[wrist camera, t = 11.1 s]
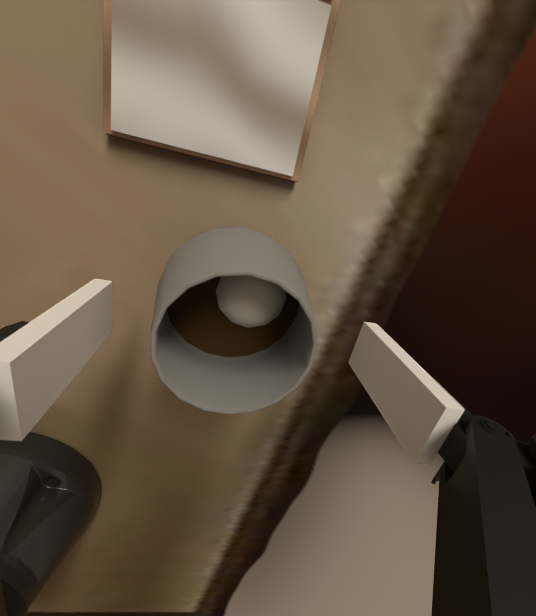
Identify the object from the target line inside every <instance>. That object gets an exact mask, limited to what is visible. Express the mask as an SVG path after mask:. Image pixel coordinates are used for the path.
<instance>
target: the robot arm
mask: <svg viewBox="0 0 536 616" xmlns="http://www.w3.org/2000/svg"><path fill="white" fill-rule="evenodd" d="M111 333H112V281H107V280H101V279H93V280H92V281H90V282H89V283H88V284H86V285H85V286H83V287H82V288H80V289H79V290H77V291H76V292H74V293H73V294H71V295H70V296H68V297H67V298H65V299H64V300H62V301H61V302H59V303H58V304H56V305H55V306H53V307H52V308H50V309H49V310H47V311H46V312H44V313H43V314H41V315H40V316H38V317H37V318H35V319H34V320H32V321H31V322H24V321H21V322H18V323H15V324H12V325H9V326H6V327H4V328H2V329H0V616H25V615H26V613H27V611H28V609H29V607H30V605H31V603H32V601H33V600H34V598H35V597H36V596H37V594H38V593H39V592H40V590H41V589H42V588H43V586H44V585H45V584H46V582H47V581H48V580H49V578H50V577H51V576H52V574H53V573H54V572H55V570H56V569H57V568H58V566H59V565H60V564H61V562H62V561H63V560H64V558H65V557H66V556H67V554H68V553H69V552H70V550H71V549H72V548H73V546H74V545H75V544H76V542H77V541H78V540H79V538H80V537H81V536H82V534H83V533H84V532H85V530H86V528H87V527H88V525H89V523H90V521H91V519H92V516H93V514H94V512H95V509H96V507H97V504H98V502H99V499H100V495H101V484H100V480H99V477H98V475H97V473H96V471H95V470H94V468H93V467H92V466H91V464H90V463H89V462H88V461H87V460H86V459H85V458H84V457H82V456H81V455H80V454H79V453H77V452H76V451H74V450H73V449H71V448H69V447H68V446H66V445H64V444H62V443H60V442H57V441H55V440H53V439H50V438H47V437H44V436H41V435H37V434H33V433H29V432H30V431H31V429H32V428H33V427H34V426H35V425H36V423H37V422H38V421H39V420H40V419H41V417H42V416H43V415H44V414H45V413H46V411H47V410H48V409H49V408H50V406H51V405H52V404H53V403H54V402H55V400H56V399H57V398H58V397H59V396H60V394H61V393H62V392H63V391H64V390H65V388H66V387H67V386H68V385H69V384H70V382H71V381H72V380H73V379H74V378H75V376H76V375H77V374H78V373H79V371H80V370H81V369H82V368H83V367H84V365H85V364H86V363H87V362H88V361H89V359H90V358H91V357H92V356H93V355H94V353H95V352H96V351H97V350H98V349H99V347H100V346H101V345H102V344H103V343H104V341H105V340H106V339H107V338H108V337H109V335H110V334H111ZM348 363H349V364H350V366H351V368H352V369H353V371H354V372H355V374H356V375H357V377H358V378H359V380H360V381H361V383H362V385H363V386H364V388H365V389H366V391H367V392H368V394H369V395H370V397H371V398H372V400H373V402H374V403H375V405H376V406H377V408H378V409H379V411H380V412H381V414H382V415H383V417H384V418H385V420H386V422H387V423H388V425H389V426H390V428H391V429H392V431H393V433H394V434H395V436H396V437H397V439H398V440H399V442H400V443H401V445H402V446H403V448H404V449H405V451H406V453H407V454H408V456H409V457H410V459H411V460H412V462H413V463H414V464H429V465H431V464H432V462H433V460H434V459H435V457H436V455H437V454H438V453H439V454H440V455H441V457H442V458H443V459H444V463H443V464H442V466H441V467H440V469H439V470H438V472H437V474H436V475H435V477H434V478H433V480H432V482H431V483H433V484H435V483H436V481H439V497H438V514H437V531H436V549H435V566H434V584H433V601H432V616H536V435H534V436H533V438H532V439H531V440H530V441H529V443H528V444H526V443H523V442H520V441H517V440H515V439H514V438H513V436H512V435H511V434H510V433H509V432H508V431H507V430H506V429H505V428H503V427H502V426H500V425H499V424H497V423H495V422H493V421H492V420H490V419H487V418H485V417H481V416H473V415H472V414H471V413H470V412H469V411H468V410H467V409H465V407H463V406H462V405H461V404H460V403H459V402H458V401H457V400H456V399H455V398H454V397H453V396H452V395H450V393H449V392H448V391H447V390H446V389H444V387H443V386H442V385H441V384H440V383H439V382H438V381H437V380H435V379H434V378H432V377H431V376H430V375H429V374H427V372H426V371H425V370H424V369H423V368H422V367H421V366H420V365H419V364H417V363H416V362H415V361H414V360H413V359H412V358H411V357H410V356H409V355H408V354H407V353H406V352H405V351H404V350H403V349H402V348H401V347H400V346H399V345H398V344H397V343H396V342H395V341H394V340H393V339H391V337H389V335H388V334H386V332H384V331H383V330H382V329H381V328H380V327H379V326H378V325H377V324H375V323H369V322H364V324H363V326H362V329H361V331H360V334H359V336H358V339H357V342H356V344H355V347H354V349H353V352H352V354H351V357H350V360H349V362H348Z"/></svg>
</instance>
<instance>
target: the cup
mask: <svg viewBox="0 0 536 616" xmlns="http://www.w3.org/2000/svg"><path fill="white" fill-rule="evenodd" d="M317 345H318V344H317V336H316V328H315V320H314V316H313V312H312V308H311V305H310V301H309V297H308V293H307V289H306V285H305V281H304V277H303V275H302V273H301V271H300V270H299V268H298V266H297V264H296V262H295V260H294V259H293V257H292V255H291V253H290V252H288V251H287V250H286V249H285V248H284V247H283V246H281V245H280V244H279V243H278V242H277V241H275V240H274V239H273V238H272V237H271V236H269V235H266V234H263V233H260V232H257V231H254V230H251V229H248V228H246V227H217V228H214V229H211V230H209V231H206V232H204V233H201V234H199V235H196V236H194V237H191V238H189V239H188V240H187V241H186V242H185V243H184V244H183V245H182V246H181V247H180V248H179V249H178V250H177V251H176V252H175V253H174V254H173V255H172V256H171V257H170V258H169V260H168V262H167V265H166V267H165V269H164V271H163V274H162V276H161V278H160V280H159V282H158V288H157V295H156V301H155V308H154V314H153V321H152V327H151V359H152V362H153V364H154V366H155V369H156V371H157V373H158V376H159V378H160V380H161V381H162V382H163V383H164V384H165V385H166V386H167V388H168V389H169V390H170V391H171V392H172V393H173V394H174V395H175V396H176V397H177V398H178V399H180V400H182V401H184V402H186V403H188V404H190V405H192V406H194V407H196V408H198V409H200V410H203V411H209V412H215V413H221V414H227V415H229V414H239V413H249V412H255V411H258V410H260V409H263V408H265V407H268V406H271V405H273V404H276V403H278V402H279V401H281V400H282V399H283V398H285V397H286V396H287V395H288V394H290V393H291V392H292V391H294V390H295V389H296V388H298V386H299V385H300V383H301V382H302V380H303V379H304V378H305V376H306V375H307V373H308V372H309V371H310V369H311V367H312V364H313V360H314V356H315V352H316V349H317Z"/></svg>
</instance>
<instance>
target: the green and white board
mask: <svg viewBox="0 0 536 616" xmlns="http://www.w3.org/2000/svg"><path fill="white" fill-rule="evenodd" d="M340 2H341V0H103V132H104V133H106V134H108V135H112V136H116V137H120V138H124V139H128V140H132V141H136V142H140V143H144V144H148V145H151V146H155V147H159V148H163V149H167V150H171V151H175V152H179V153H183V154H187V155H191V156H195V157H199V158H203V159H207V160H211V161H215V162H219V163H223V164H227V165H231V166H235V167H239V168H243V169H247V170H250V171H254V172H258V173H262V174H266V175H270V176H274V177H278V178H282V179H286V180H290V181H294V182H298V180H299V175H300V171H301V167H302V163H303V158H304V154H305V150H306V146H307V142H308V137H309V133H310V129H311V125H312V120H313V116H314V112H315V108H316V104H317V99H318V95H319V91H320V87H321V82H322V78H323V74H324V70H325V65H326V61H327V57H328V53H329V49H330V44H331V40H332V36H333V32H334V27H335V23H336V19H337V15H338V10H339V6H340Z"/></svg>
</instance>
